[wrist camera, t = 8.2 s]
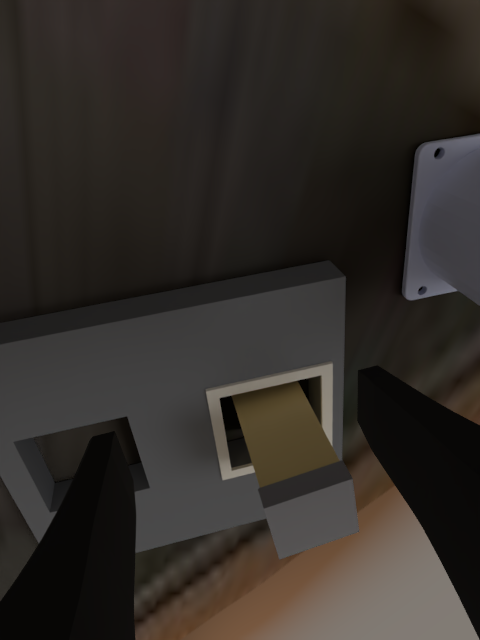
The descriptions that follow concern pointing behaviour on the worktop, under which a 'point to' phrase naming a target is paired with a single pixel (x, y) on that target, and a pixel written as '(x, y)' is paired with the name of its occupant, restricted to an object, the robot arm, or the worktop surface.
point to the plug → (296, 469)
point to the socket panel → (171, 390)
